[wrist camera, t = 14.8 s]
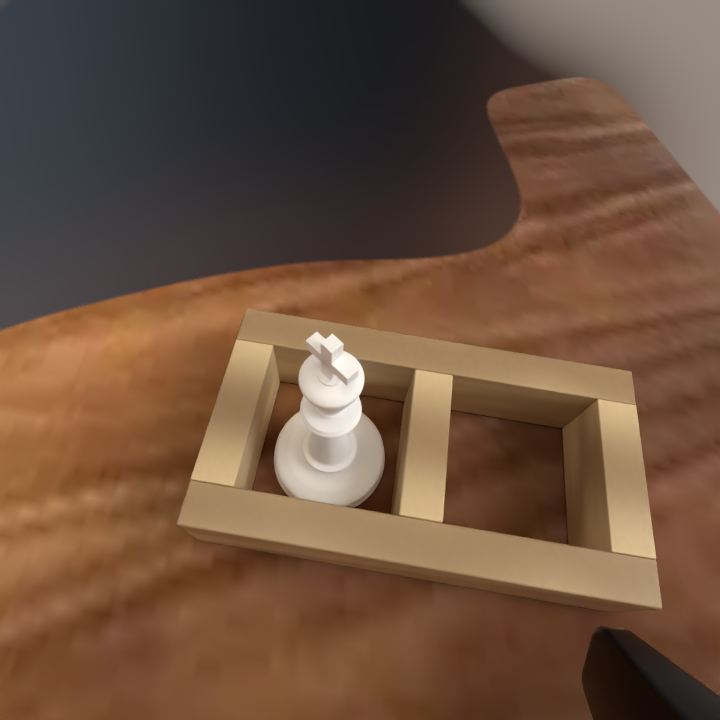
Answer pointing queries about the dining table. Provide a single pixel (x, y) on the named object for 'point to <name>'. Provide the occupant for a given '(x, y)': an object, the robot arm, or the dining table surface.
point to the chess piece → (330, 432)
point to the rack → (437, 468)
